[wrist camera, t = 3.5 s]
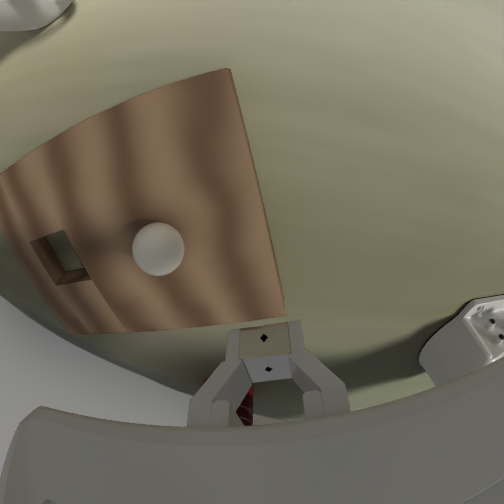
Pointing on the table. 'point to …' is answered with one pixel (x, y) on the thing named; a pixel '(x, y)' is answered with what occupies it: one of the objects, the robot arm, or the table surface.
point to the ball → (158, 249)
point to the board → (148, 214)
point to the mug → (29, 13)
